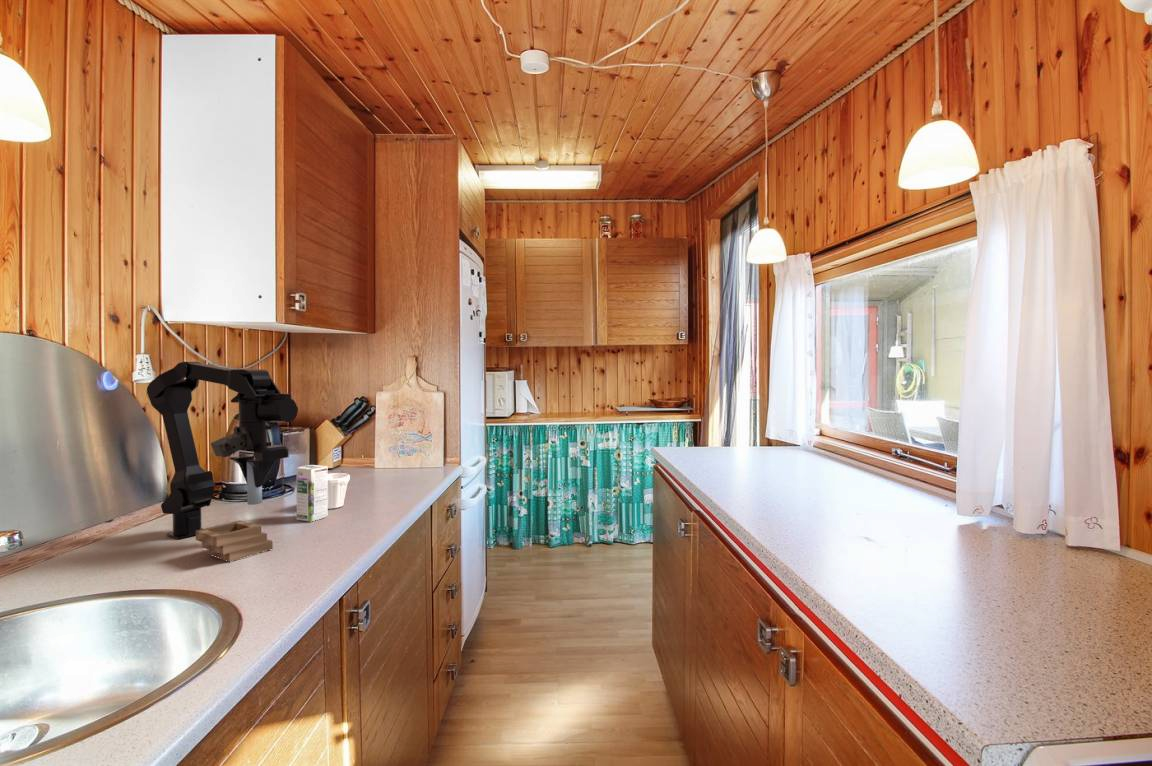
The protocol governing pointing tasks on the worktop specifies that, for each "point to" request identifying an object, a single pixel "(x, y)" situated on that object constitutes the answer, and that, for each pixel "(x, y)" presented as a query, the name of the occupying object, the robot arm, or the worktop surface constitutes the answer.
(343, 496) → the cup
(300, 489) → the syrup box
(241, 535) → the leaning socket
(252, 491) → the gray dowel
